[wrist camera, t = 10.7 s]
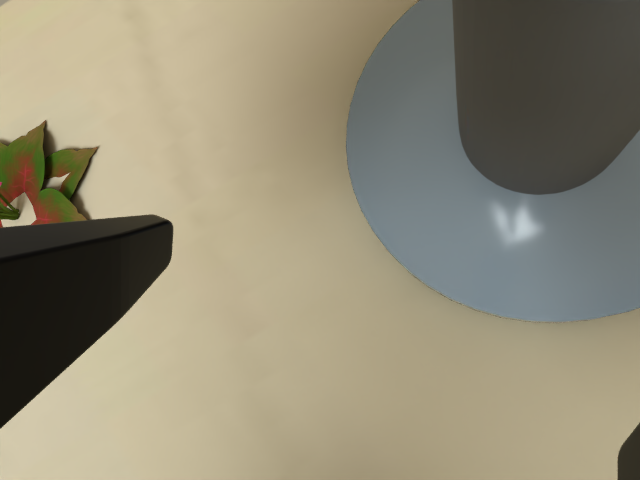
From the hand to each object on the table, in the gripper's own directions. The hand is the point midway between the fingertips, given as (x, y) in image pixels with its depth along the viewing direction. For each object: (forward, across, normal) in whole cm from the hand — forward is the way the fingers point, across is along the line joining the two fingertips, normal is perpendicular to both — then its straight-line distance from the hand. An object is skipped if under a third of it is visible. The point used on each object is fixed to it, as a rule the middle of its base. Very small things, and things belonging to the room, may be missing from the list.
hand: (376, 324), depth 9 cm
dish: (+14, -3, -2) cm, 14 cm away
